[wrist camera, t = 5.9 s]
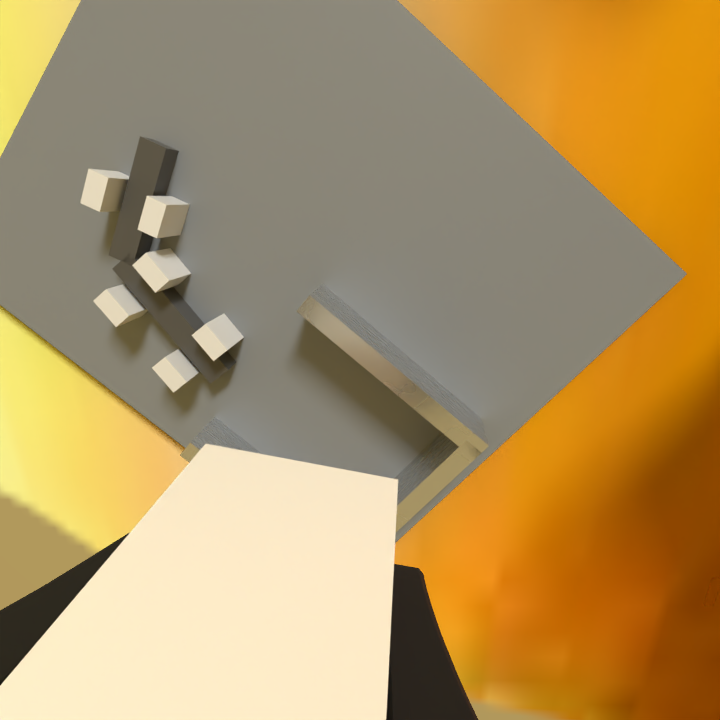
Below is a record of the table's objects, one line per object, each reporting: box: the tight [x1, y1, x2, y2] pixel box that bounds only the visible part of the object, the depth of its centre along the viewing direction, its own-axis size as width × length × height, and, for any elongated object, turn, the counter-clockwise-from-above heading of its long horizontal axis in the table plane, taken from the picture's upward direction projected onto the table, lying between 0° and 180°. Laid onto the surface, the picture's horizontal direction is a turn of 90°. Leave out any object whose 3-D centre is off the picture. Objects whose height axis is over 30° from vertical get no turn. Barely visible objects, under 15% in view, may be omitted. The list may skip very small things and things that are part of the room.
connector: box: [0, 444, 398, 720], centre depth 8 cm, size 4×4×6 cm
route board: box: [0, 0, 686, 543], centre depth 15 cm, size 18×15×2 cm
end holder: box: [180, 284, 489, 532], centre depth 16 cm, size 7×7×2 cm
